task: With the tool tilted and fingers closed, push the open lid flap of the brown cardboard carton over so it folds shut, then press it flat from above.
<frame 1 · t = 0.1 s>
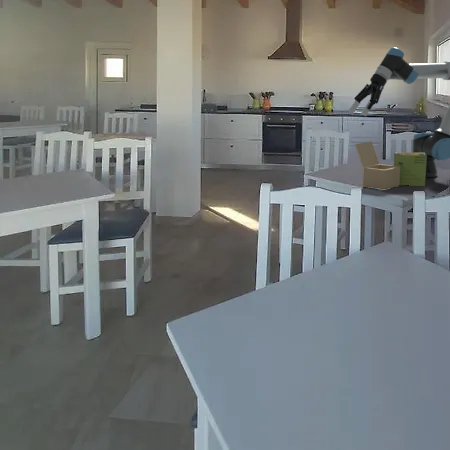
hand: (356, 113, 317), 36 cm above the table, tool tilted 35°, fingers open, 13 cm apart
carton: (381, 187, 321), on the table
lid: (367, 154, 323), point 16 cm above the table, hinge at 115.0°
protein box: (408, 184, 328), on the table
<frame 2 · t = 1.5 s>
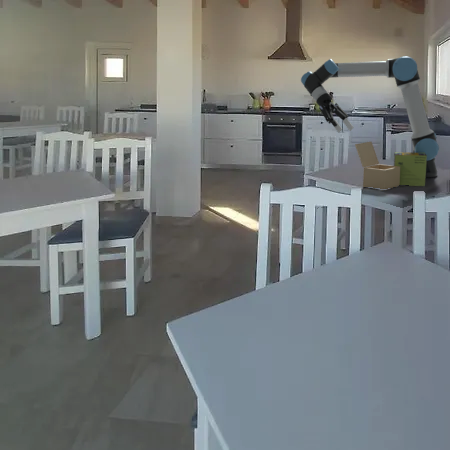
hand: (346, 129, 329), 27 cm above the table, tool tilted 45°, fingers open, 9 cm apart
nothing on the table moved.
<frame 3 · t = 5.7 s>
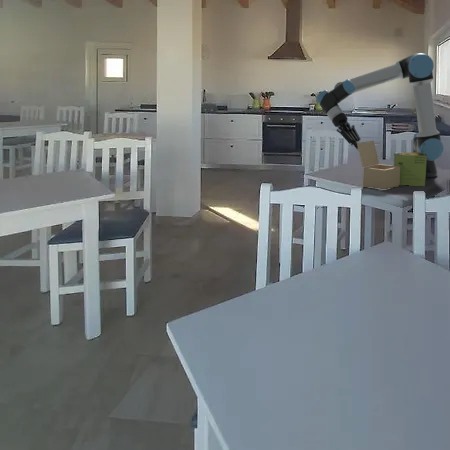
hand: (363, 152, 323), 16 cm above the table, tool tilted 45°, fingers closed
lid: (368, 153, 323), point 16 cm above the table, hinge at 108.7°, touching gripper
everything else where it was.
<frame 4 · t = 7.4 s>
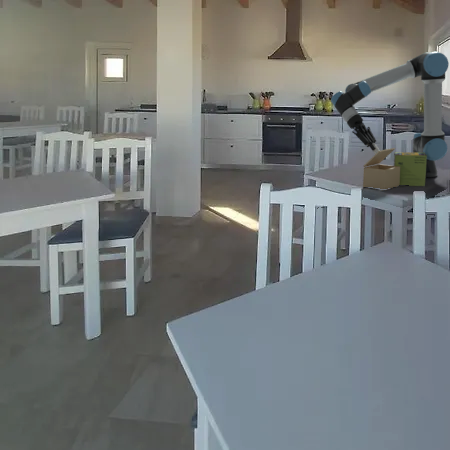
hand: (379, 154, 317), 16 cm above the table, tool tilted 45°, fingers closed
lid: (379, 157, 318), point 15 cm above the table, hinge at 43.3°, touching gripper
everything else where it was.
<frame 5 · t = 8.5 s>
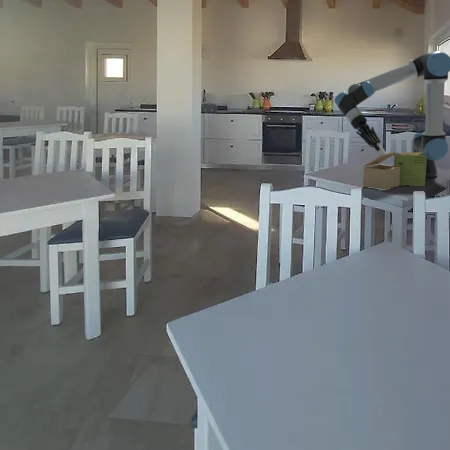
hand: (383, 155, 316), 16 cm above the table, tool tilted 45°, fingers closed
lid: (380, 159, 318), point 14 cm above the table, hinge at 32.3°, touching gripper
everything else where it was.
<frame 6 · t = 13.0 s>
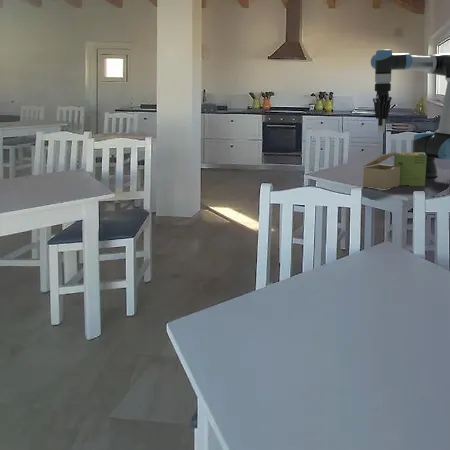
hand: (381, 132, 315), 27 cm above the table, tool pointing down, fingers closed
lid: (380, 159, 318), point 14 cm above the table, hinge at 32.3°
everything else where it was.
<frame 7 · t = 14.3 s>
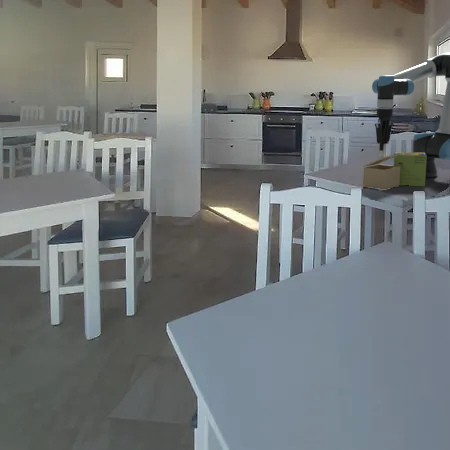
hand: (382, 156, 317), 15 cm above the table, tool pointing down, fingers closed
lid: (381, 160, 318), point 13 cm above the table, hinge at 26.0°, touching gripper
everything else where it was.
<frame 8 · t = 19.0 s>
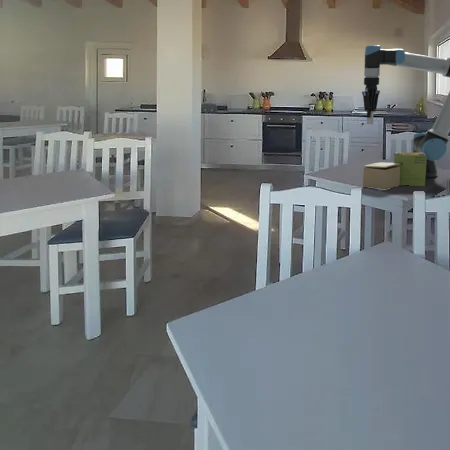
hand: (369, 124, 331), 29 cm above the table, tool pointing down, fingers closed
lid: (382, 164, 318), point 11 cm above the table, hinge at 3.9°
everything else where it was.
at the end: lid at +4° (first picture: +115°) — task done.
